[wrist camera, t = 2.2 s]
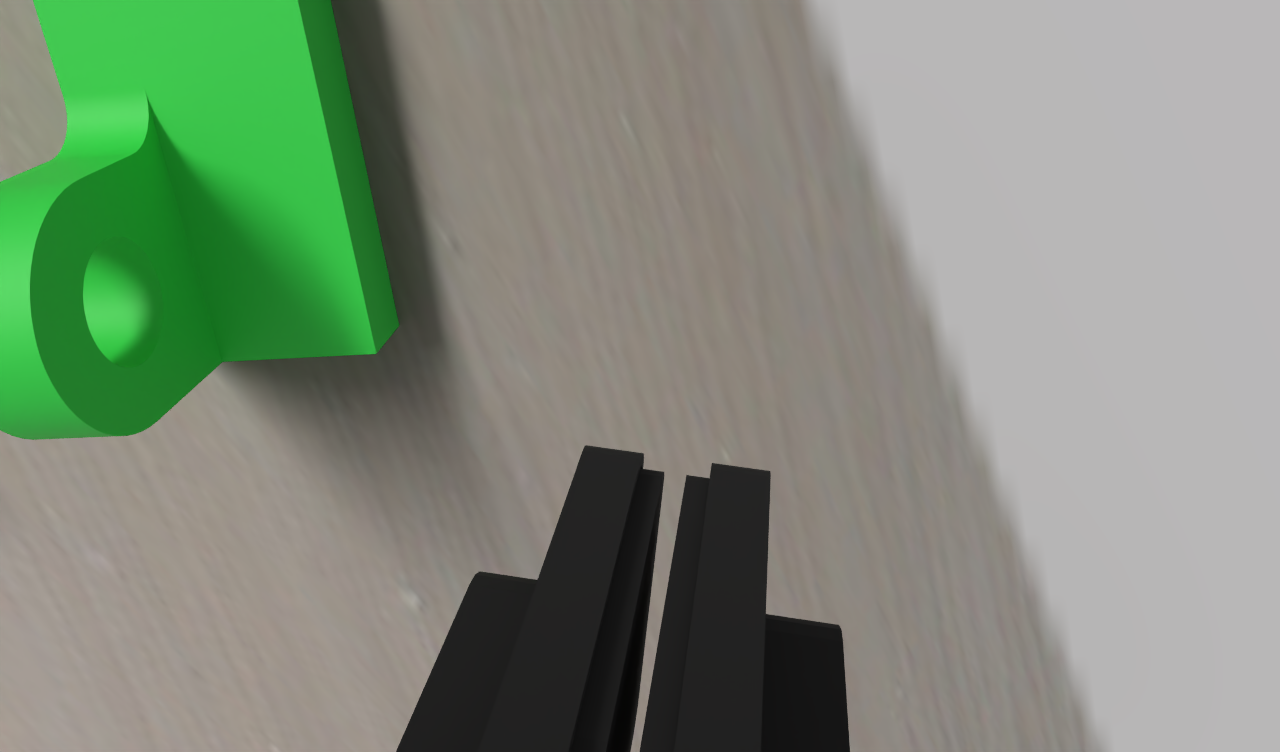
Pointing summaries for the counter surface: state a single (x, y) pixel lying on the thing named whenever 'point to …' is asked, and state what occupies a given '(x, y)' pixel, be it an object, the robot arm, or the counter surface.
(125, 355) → the mechanical part
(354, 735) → the counter surface
